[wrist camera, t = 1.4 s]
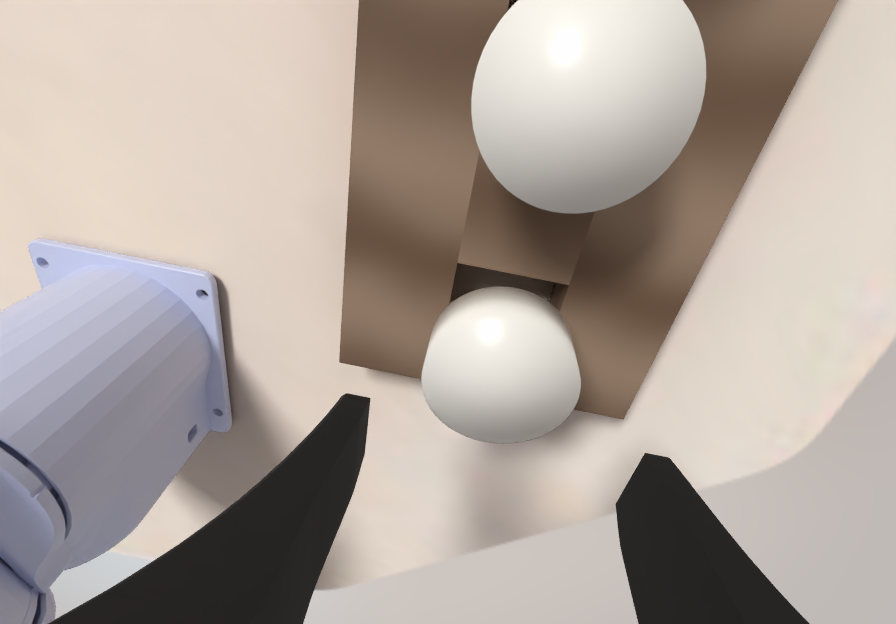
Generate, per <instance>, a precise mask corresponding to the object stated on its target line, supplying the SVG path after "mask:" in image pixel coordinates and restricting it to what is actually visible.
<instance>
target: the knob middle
mask: <svg viewBox="0 0 896 624" xmlns="http://www.w3.org/2000/svg"><path fill="white" fill-rule="evenodd" d="M705 84H706V58H705V51H704V45H703V41H702V38H701V34H700V31H699V28H698V26H697V23H696V21H695V19H694V17H693V15H692V13H691V11H690V10H689V9H688V7H687V6H686V4H685V3H684V1H683V0H518V1H517V2H516V3H515V4H514V5H513V6H512V7H511V8H510V9H509V10H508V11H507V13H506V14H505V15H504V16H503V17H502V19H501V20H500V21H499V23H498V24H497V26H496V27H495V29H494V30H493V32H492V33H491V35H490V37H489V39H488V41H487V43H486V45H485V47H484V49H483V51H482V54H481V57H480V60H479V62H478V65H477V69H476V73H475V77H474V81H473V89H472V97H471V115H472V123H473V130H474V134H475V138H476V142H477V145H478V147H479V150H480V153H481V155H482V157H483V159H484V161H485V163H486V165H487V166H488V168H489V170H490V171H491V172H492V174H493V175H494V176H495V178H496V179H497V180H498V181H499V182H500V183H501V184H502V185H503V186H504V187H505V188H506V189H507V190H508V191H509V192H511V193H512V194H513V195H514V196H516V197H517V198H519V199H521V200H522V201H524V202H526V203H528V204H530V205H532V206H535V207H537V208H540V209H544V210H547V211H551V212H558V213H572V214H579V213H587V212H594V211H598V210H602V209H606V208H609V207H612V206H614V205H617V204H620V203H622V202H624V201H626V200H628V199H630V198H632V197H633V196H635V195H637V194H638V193H640V192H641V191H643V190H644V189H646V188H647V187H648V186H649V185H651V184H652V183H653V182H654V181H656V180H657V179H658V178H659V177H660V176H661V175H662V174H663V173H664V172H665V171H666V170H667V169H668V168H669V167H670V165H671V164H672V163H673V162H674V160H675V159H676V158H677V157H678V155H679V154H680V152H681V151H682V149H683V147H684V146H685V144H686V143H687V141H688V139H689V137H690V135H691V133H692V131H693V129H694V127H695V124H696V122H697V119H698V116H699V113H700V111H701V106H702V102H703V98H704V93H705Z"/></svg>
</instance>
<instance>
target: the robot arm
mask: <svg viewBox="0 0 896 624" xmlns="http://www.w3.org/2000/svg"><path fill="white" fill-rule="evenodd" d="M28 248H29V252H30V255H31V258H32V261H33V264H34V267H35V270H36V273H37V276H38V278H39V281H40V284H41V287H42V289H41V290H39V291H37V292H35V293H33V294H32V295H30V296H28V297H26V298H24V299H22V300H21V301H19V302H17V303H15V304H13V305H11V306H10V307H8V308H6V309H4V310H2V311H0V624H303V622H304V619H305V615H306V612H307V609H308V606H309V603H310V599H311V597H312V594H313V591H314V589H315V586H316V583H317V580H318V578H319V575H320V573H321V570H322V568H323V566H324V563H325V561H326V558H327V556H328V553H329V551H330V548H331V546H332V544H333V541H334V539H335V536H336V534H337V531H338V529H339V526H340V524H341V522H342V519H343V517H344V514H345V512H346V509H347V507H348V504H349V502H350V499H351V497H352V494H353V492H354V488H355V485H356V482H357V478H358V475H359V471H360V468H361V464H362V461H363V457H364V454H365V445H366V435H367V425H368V416H369V406H370V398H367V397H362V396H357V395H352V394H347V393H346V394H345V395H343V396H341V398H340V399H339V400H338V402H337V403H336V404H335V405H334V407H333V408H332V409H331V410H330V411H329V413H328V414H327V415H326V416H325V417H324V418H323V420H322V421H321V422H320V423H319V424H318V425H317V426H316V427H315V428H314V430H313V431H312V432H311V433H310V434H309V435H308V436H307V437H306V438H305V439H304V440H303V441H302V442H301V443H300V444H299V445H298V446H297V447H296V448H295V449H294V450H293V451H292V452H291V453H290V454H289V455H288V456H287V457H286V458H285V459H284V460H283V461H282V462H281V463H280V464H279V465H277V466H276V467H275V468H274V469H273V470H272V471H271V472H270V473H269V474H268V475H267V476H266V477H264V478H263V479H262V480H261V481H260V482H259V483H258V484H257V485H255V486H254V487H253V488H252V489H251V490H250V491H248V492H247V493H246V494H245V495H244V496H242V497H241V498H240V499H239V500H238V501H236V502H235V503H234V504H232V505H231V506H230V507H229V508H227V509H226V510H225V511H224V512H222V513H221V514H220V515H219V516H217V517H216V518H214V519H213V520H212V521H210V522H209V523H208V524H206V525H205V526H204V527H202V528H201V529H200V530H198V531H197V532H195V533H194V534H193V535H191V536H190V537H189V538H187V539H186V540H184V541H183V542H181V543H180V544H179V545H177V546H176V547H174V548H173V549H171V550H170V551H168V552H167V553H165V554H163V555H162V556H160V557H159V558H157V559H156V560H154V561H153V562H151V563H150V564H148V565H146V566H145V567H143V568H142V569H140V570H139V571H137V572H136V573H134V574H132V575H131V576H129V577H128V578H126V579H124V580H123V581H121V582H120V583H118V584H116V585H115V586H113V587H112V588H110V589H108V590H107V591H105V592H103V593H101V594H99V595H98V596H96V597H94V598H92V599H91V600H89V601H87V602H85V603H84V604H82V605H80V606H78V607H76V608H75V609H73V610H71V611H69V612H68V613H66V614H64V615H62V616H61V617H59V618H57V619H55V612H56V605H55V600H54V596H53V593H52V592H51V590H50V588H49V587H50V586H51V585H52V583H53V582H54V581H55V580H56V579H57V577H58V576H59V575H60V574H61V573H62V572H63V570H67V569H71V568H74V567H77V566H79V565H81V564H84V563H86V562H88V561H90V560H92V559H94V558H96V557H98V556H99V555H101V554H103V553H105V552H106V551H108V550H109V549H111V548H112V547H114V546H115V545H116V544H118V543H119V542H120V541H122V540H123V539H124V538H125V537H127V536H128V535H129V534H130V533H131V532H132V531H133V530H134V529H135V528H136V527H137V526H138V525H139V523H140V522H141V521H142V520H143V518H144V517H145V516H146V514H147V513H148V512H149V510H150V509H151V508H152V506H153V505H154V504H155V502H156V501H157V500H158V498H159V497H160V496H161V494H162V493H163V492H164V490H165V489H166V488H167V486H168V485H169V484H170V482H171V481H172V480H173V478H174V477H175V476H176V474H177V473H178V472H179V470H180V469H181V468H182V466H183V465H184V464H185V462H186V461H187V460H188V458H189V457H190V456H191V454H192V453H193V452H194V450H195V449H196V448H197V446H198V445H199V444H200V442H201V441H202V440H203V438H204V437H205V436H206V434H207V433H208V432H209V430H211V431H216V432H222V433H225V432H228V431H229V429H230V428H231V427H232V415H231V407H230V398H229V389H228V380H227V371H226V362H225V353H224V344H223V335H222V326H221V317H220V308H219V299H218V290H217V283H216V280H215V278H214V277H213V275H211V274H210V273H209V272H206V271H203V270H198V269H193V268H188V267H183V266H178V265H173V264H168V263H163V262H158V261H153V260H148V259H143V258H138V257H133V256H128V255H123V254H118V253H113V252H108V251H103V250H98V249H93V248H88V247H83V246H78V245H73V244H68V243H63V242H58V241H53V240H48V239H43V238H38V239H36V240H34V241H32V242H30V243H29V245H28ZM201 289H202V290H204V291H205V292H206V293H207V294H208V296H207V295H205V294H204V293H203V292H202V290H201ZM616 511H617V521H618V530H619V538H620V546H621V551H622V555H623V560H624V564H625V568H626V573H627V577H628V581H629V585H630V590H631V594H632V598H633V602H634V606H635V610H636V615H637V619H638V623H639V624H809V623H808V622H807V621H806V620H805V619H804V618H803V617H802V616H801V615H800V613H798V612H797V610H795V608H794V607H793V606H792V605H791V604H790V603H789V602H788V601H787V600H786V599H785V598H784V597H783V595H782V594H781V593H780V592H779V591H778V590H777V589H776V588H775V587H774V586H773V584H772V583H771V582H770V581H769V580H768V579H767V577H766V576H765V575H764V574H763V573H762V572H761V571H760V569H759V568H758V567H757V566H756V565H755V564H754V563H753V561H752V560H751V559H750V558H749V557H748V556H747V554H746V553H745V552H744V551H743V550H742V549H741V547H740V546H739V545H738V544H737V542H736V541H735V540H734V539H733V538H732V536H731V535H730V534H729V533H728V531H727V530H726V529H725V528H724V526H723V525H722V524H721V523H720V521H719V520H718V519H717V518H716V516H715V515H714V514H713V513H712V511H711V510H710V509H709V507H708V506H707V505H706V504H705V502H704V501H703V500H702V499H701V497H700V496H699V495H698V493H697V492H696V491H695V489H694V488H693V487H692V486H691V484H690V483H689V482H688V481H687V479H686V478H685V477H684V475H683V474H682V473H681V472H680V470H679V469H678V468H677V467H676V465H675V464H674V463H673V462H672V461H671V459H670V458H668V457H663V456H658V455H653V454H648V453H645V454H644V456H643V458H642V459H641V461H640V463H639V465H638V466H637V468H636V470H635V471H634V473H633V475H632V477H631V478H630V480H629V482H628V484H627V485H626V487H625V489H624V491H623V492H622V494H621V496H620V498H619V499H618V501H617V503H616Z"/></svg>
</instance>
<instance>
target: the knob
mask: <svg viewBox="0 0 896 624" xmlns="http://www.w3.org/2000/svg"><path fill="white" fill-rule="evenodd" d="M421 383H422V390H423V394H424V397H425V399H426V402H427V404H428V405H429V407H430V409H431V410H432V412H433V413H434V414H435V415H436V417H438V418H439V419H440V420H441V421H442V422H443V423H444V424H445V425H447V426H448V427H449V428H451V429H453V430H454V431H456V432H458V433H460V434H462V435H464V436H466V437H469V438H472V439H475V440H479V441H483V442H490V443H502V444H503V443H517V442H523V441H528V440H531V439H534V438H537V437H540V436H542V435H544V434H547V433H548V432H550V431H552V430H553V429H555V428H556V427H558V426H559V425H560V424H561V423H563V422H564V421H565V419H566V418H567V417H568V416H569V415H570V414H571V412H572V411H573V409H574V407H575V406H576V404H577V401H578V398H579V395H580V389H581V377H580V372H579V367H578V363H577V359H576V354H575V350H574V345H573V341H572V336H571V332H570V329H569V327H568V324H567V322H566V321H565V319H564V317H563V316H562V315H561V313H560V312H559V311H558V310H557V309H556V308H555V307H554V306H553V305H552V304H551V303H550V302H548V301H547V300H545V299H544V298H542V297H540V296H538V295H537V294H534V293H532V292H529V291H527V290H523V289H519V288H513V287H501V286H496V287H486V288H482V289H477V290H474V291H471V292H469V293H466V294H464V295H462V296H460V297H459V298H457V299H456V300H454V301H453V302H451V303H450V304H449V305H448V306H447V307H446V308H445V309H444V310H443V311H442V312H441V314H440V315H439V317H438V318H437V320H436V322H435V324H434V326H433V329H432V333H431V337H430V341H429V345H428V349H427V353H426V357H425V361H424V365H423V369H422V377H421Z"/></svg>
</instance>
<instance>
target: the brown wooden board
mask: <svg viewBox="0 0 896 624" xmlns="http://www.w3.org/2000/svg"><path fill="white" fill-rule="evenodd" d="M509 1H510V0H359V10H358V28H357V47H356V65H355V83H354V102H353V120H352V139H351V157H350V176H349V194H348V212H347V231H346V249H345V268H344V286H343V305H342V323H341V341H340V360H339V362H340V363H345V364H350V365H355V366H360V367H365V368H370V369H375V370H380V371H385V372H390V373H395V374H400V375H405V376H410V377H415V378H420V379H421V377H422V369H423V365H424V361H425V357H426V353H427V349H428V345H429V341H430V337H431V333H432V329H433V326H434V324H435V322H436V320H437V318H438V317H439V315H440V314H441V312H442V311H443V310H444V309H445V308H446V307H447V306H448V305H449V304H450V299H451V294H452V289H453V284H454V279H455V273H456V268H457V263H461V264H466V265H471V266H476V267H481V268H486V269H491V270H496V271H501V272H506V273H511V274H516V275H521V276H526V277H531V278H536V279H541V280H546V281H551V282H556V283H555V286H554V289H553V292H552V295H551V298H550V301H549V302H550V303H551V304H552V305H553V306H554V307H555V308H556V309H557V310H558V311H559V312H560V313H561V315H562V316H563V317H564V319H565V321H566V322H567V324H568V327H569V329H570V332H571V336H572V341H573V345H574V350H575V354H576V359H577V363H578V367H579V372H580V377H581V389H580V395H579V398H578V401H577V404H576V406H575V407H574V409H575V410H580V411H584V412H589V413H594V414H599V415H604V416H609V417H614V418H619V419H624V417H625V415H626V413H627V411H628V409H629V408H630V406H631V404H632V402H633V400H634V398H635V396H636V394H637V392H638V390H639V388H640V386H641V384H642V382H643V380H644V378H645V376H646V374H647V372H648V370H649V368H650V367H651V365H652V363H653V361H654V359H655V357H656V355H657V353H658V351H659V349H660V347H661V345H662V343H663V341H664V339H665V337H666V335H667V333H668V331H669V329H670V327H671V325H672V324H673V322H674V320H675V318H676V316H677V314H678V312H679V310H680V308H681V306H682V304H683V302H684V300H685V298H686V296H687V294H688V292H689V290H690V288H691V286H692V284H693V282H694V281H695V279H696V277H697V275H698V273H699V271H700V269H701V267H702V265H703V263H704V261H705V259H706V257H707V255H708V253H709V251H710V249H711V247H712V245H713V243H714V241H715V240H716V238H717V236H718V234H719V232H720V230H721V228H722V226H723V224H724V222H725V220H726V218H727V216H728V214H729V212H730V210H731V208H732V206H733V204H734V202H735V200H736V198H737V197H738V195H739V193H740V191H741V189H742V187H743V185H744V183H745V181H746V179H747V177H748V175H749V173H750V171H751V169H752V167H753V165H754V163H755V161H756V159H757V157H758V155H759V154H760V152H761V150H762V148H763V146H764V144H765V142H766V140H767V138H768V136H769V134H770V132H771V130H772V128H773V126H774V124H775V122H776V120H777V118H778V116H779V114H780V112H781V111H782V109H783V107H784V105H785V103H786V101H787V99H788V97H789V95H790V93H791V91H792V89H793V87H794V85H795V83H796V81H797V79H798V77H799V75H800V73H801V71H802V70H803V68H804V66H805V64H806V62H807V60H808V58H809V56H810V54H811V52H812V50H813V48H814V46H815V44H816V42H817V40H818V38H819V36H820V34H821V32H822V30H823V28H824V27H825V25H826V23H827V21H828V19H829V17H830V15H831V13H832V11H833V9H834V7H835V5H836V3H837V1H838V0H683V1H684V3H685V4H686V6H687V7H688V9H689V10H690V11H691V13H692V15H693V17H694V19H695V21H696V23H697V26H698V28H699V31H700V34H701V38H702V41H703V45H704V51H705V58H706V84H705V93H704V98H703V102H702V106H701V111H700V113H699V116H698V119H697V122H696V124H695V127H694V129H693V131H692V133H691V135H690V137H689V139H688V141H687V143H686V144H685V146H684V147H683V149H682V151H681V152H680V154H679V155H678V157H677V158H676V159H675V160H674V162H673V163H672V164H671V165H670V167H669V168H668V169H667V170H666V171H665V172H664V173H663V174H662V175H661V176H660V177H659V178H658V179H657V180H656V181H654V182H653V183H652V184H651V185H649V186H648V187H647V188H646V189H644V190H643V191H641V192H640V193H638V194H637V195H635V196H633V197H632V198H630V199H628V200H626V201H624V202H622V203H620V204H617V205H614V206H612V207H609V208H606V209H602V210H598V211H594V212H587V213H579V214H572V213H558V212H551V211H547V210H544V209H540V208H537V207H535V206H532V205H530V204H528V203H526V202H524V201H522V200H521V199H519V198H517V197H516V196H514V195H513V194H512V193H511V192H509V191H508V190H507V189H506V188H505V187H504V186H503V185H502V184H501V183H500V182H499V181H498V180H497V179H496V178H495V176H494V175H493V174H492V172H491V171H490V170H489V168H488V166H487V165H486V163H485V161H484V159H483V157H482V155H481V153H480V150H479V147H478V145H477V142H476V138H475V134H474V130H473V123H472V115H471V97H472V89H473V81H474V77H475V73H476V69H477V65H478V62H479V60H480V57H481V54H482V51H483V49H484V47H485V45H486V43H487V41H488V39H489V37H490V35H491V33H492V32H493V30H494V29H495V27H496V26H497V24H498V23H499V21H500V20H501V19H502V17H503V16H504V15H505V14H506V13H507V11H508V6H509Z"/></svg>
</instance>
